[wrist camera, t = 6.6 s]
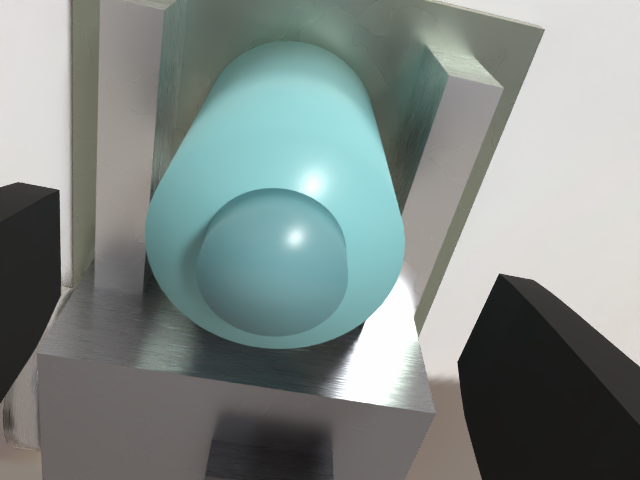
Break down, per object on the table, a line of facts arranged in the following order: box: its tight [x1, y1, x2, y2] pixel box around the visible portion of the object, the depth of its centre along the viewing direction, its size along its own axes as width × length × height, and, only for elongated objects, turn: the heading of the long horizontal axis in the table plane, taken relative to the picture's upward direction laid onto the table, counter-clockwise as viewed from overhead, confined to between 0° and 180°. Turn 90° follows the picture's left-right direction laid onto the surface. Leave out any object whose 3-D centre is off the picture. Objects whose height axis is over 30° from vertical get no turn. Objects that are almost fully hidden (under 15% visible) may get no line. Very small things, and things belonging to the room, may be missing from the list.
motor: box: [3, 0, 545, 480], centre depth 14 cm, size 11×15×6 cm
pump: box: [145, 41, 405, 349], centre depth 12 cm, size 4×4×7 cm
